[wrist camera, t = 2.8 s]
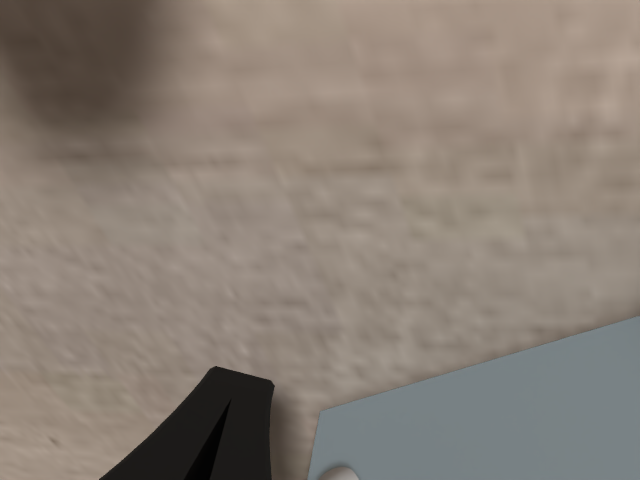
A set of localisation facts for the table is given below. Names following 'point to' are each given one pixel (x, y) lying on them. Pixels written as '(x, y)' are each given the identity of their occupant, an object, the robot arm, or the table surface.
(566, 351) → the cabinet door
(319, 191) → the table surface
